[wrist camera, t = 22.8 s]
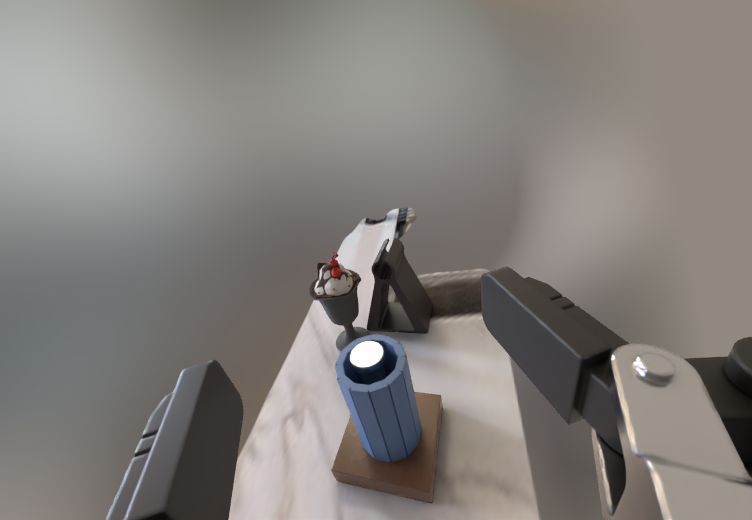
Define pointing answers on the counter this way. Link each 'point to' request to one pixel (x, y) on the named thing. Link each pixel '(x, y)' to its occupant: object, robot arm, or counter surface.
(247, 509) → the counter surface
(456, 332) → the counter surface
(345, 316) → the sundae
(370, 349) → the wooden base post
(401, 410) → the blue sleeve
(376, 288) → the phone stand
